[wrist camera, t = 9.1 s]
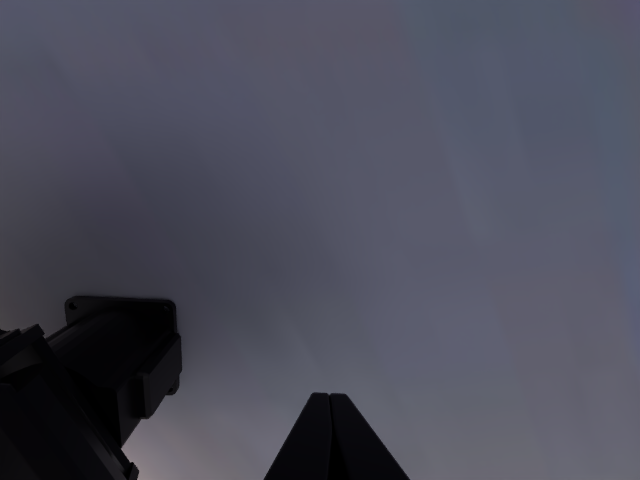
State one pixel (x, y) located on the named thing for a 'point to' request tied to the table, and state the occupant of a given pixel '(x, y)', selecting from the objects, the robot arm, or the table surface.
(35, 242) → the table surface
